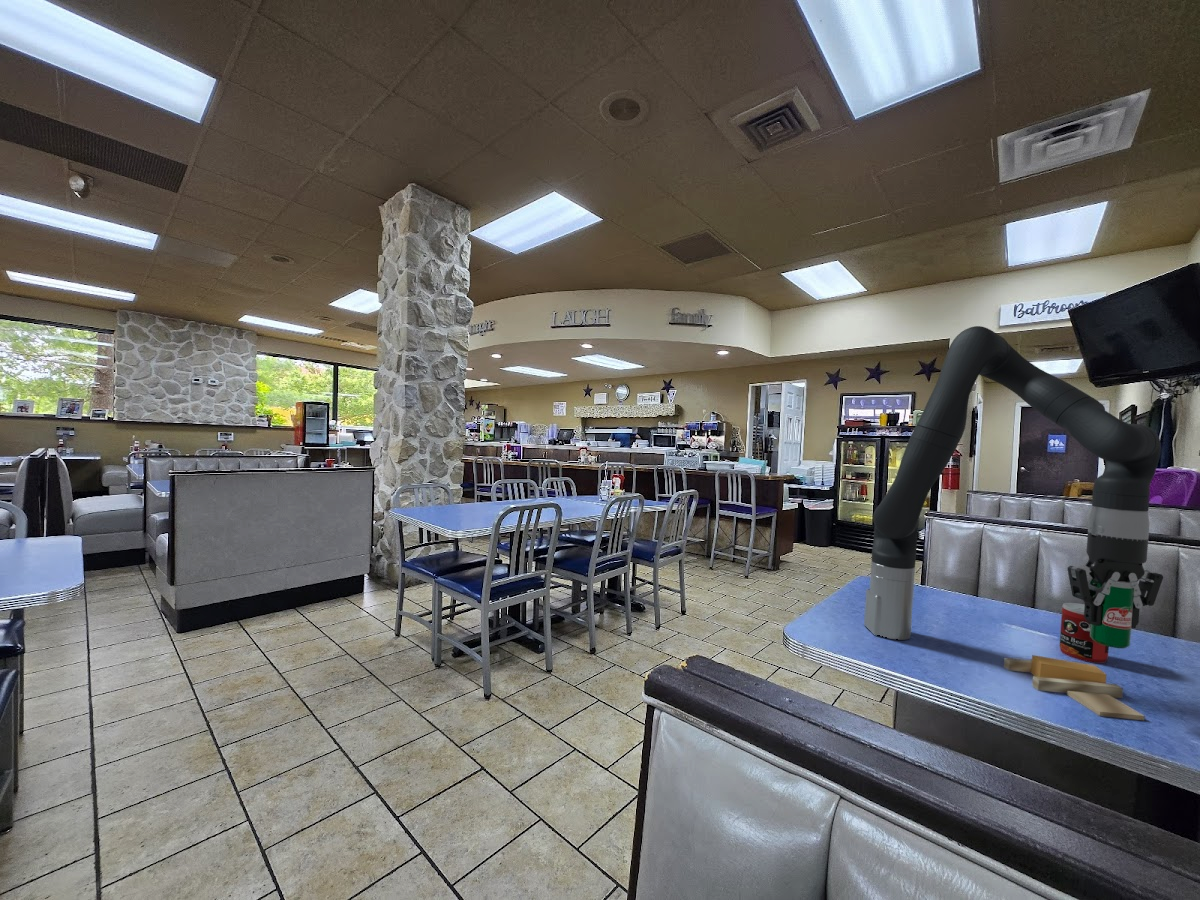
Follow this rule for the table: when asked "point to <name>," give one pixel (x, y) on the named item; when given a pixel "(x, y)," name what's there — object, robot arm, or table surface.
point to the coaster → (1105, 705)
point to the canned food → (1079, 636)
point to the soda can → (1115, 616)
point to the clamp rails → (1063, 681)
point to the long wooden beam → (1066, 670)
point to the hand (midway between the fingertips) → (1110, 624)
